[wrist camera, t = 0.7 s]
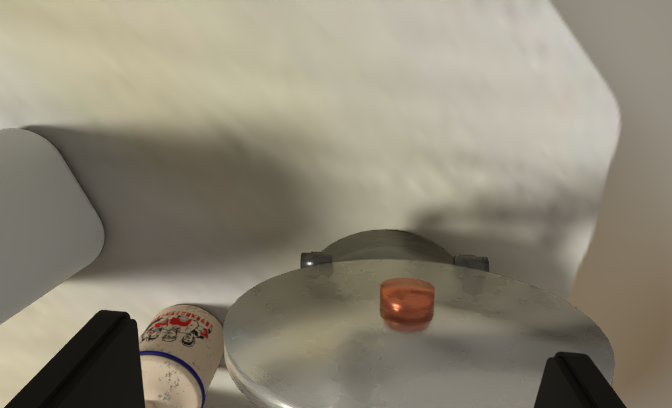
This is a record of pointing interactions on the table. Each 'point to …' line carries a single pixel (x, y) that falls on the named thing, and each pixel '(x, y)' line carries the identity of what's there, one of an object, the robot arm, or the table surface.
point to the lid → (401, 337)
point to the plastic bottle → (40, 221)
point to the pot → (389, 250)
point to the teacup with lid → (180, 357)
